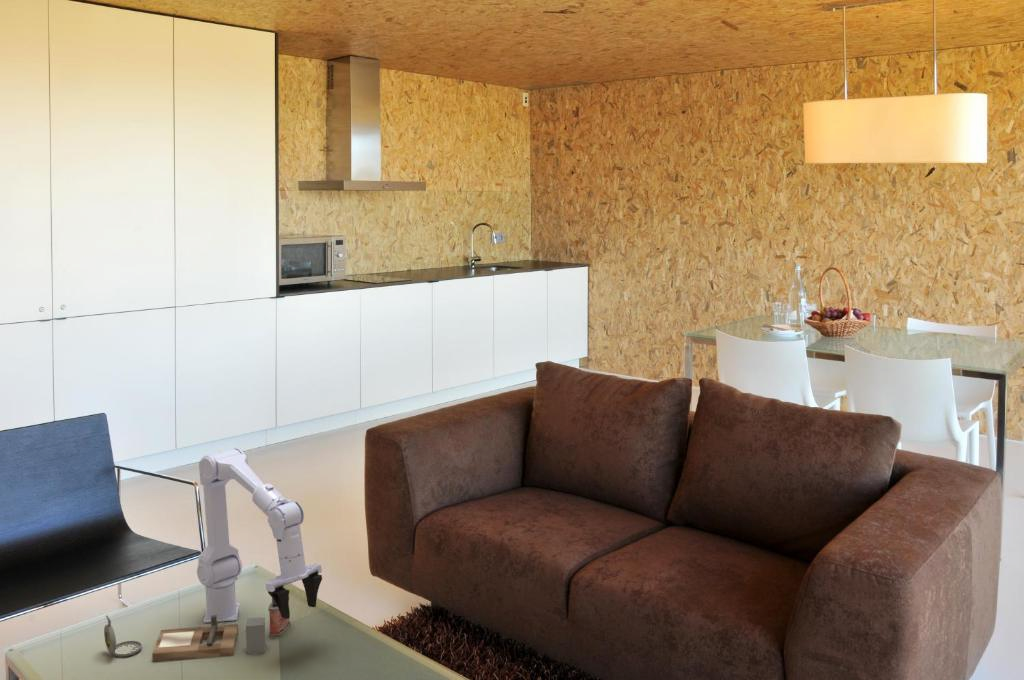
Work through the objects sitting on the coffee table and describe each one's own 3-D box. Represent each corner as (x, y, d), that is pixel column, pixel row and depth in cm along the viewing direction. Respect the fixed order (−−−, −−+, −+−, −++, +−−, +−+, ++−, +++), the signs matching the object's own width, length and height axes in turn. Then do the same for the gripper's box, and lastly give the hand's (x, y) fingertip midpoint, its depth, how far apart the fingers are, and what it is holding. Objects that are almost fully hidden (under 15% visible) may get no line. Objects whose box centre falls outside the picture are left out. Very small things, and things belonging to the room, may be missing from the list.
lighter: (279, 638, 232) (277, 599, 231) (266, 637, 233) (264, 598, 231) (293, 623, 240) (291, 586, 238) (280, 622, 241) (279, 584, 239)
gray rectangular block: (248, 646, 228) (247, 618, 227) (265, 644, 229) (264, 617, 228) (246, 654, 225) (245, 626, 223) (264, 652, 225) (263, 625, 224)
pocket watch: (148, 647, 228) (145, 607, 226) (123, 663, 220) (120, 623, 218) (120, 641, 230) (117, 602, 229) (94, 658, 223) (91, 617, 221)
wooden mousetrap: (161, 637, 232) (160, 618, 232) (238, 631, 236) (237, 612, 235) (152, 661, 221) (151, 641, 220) (233, 655, 224) (232, 635, 223)
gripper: (275, 566, 214) (284, 625, 215) (326, 547, 225) (334, 603, 226) (257, 563, 219) (265, 621, 219) (307, 544, 230) (315, 600, 230)
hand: (299, 612), depth 223 cm, fingers open, 7 cm apart
